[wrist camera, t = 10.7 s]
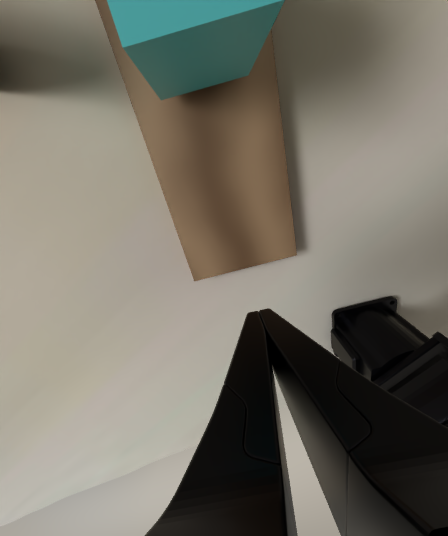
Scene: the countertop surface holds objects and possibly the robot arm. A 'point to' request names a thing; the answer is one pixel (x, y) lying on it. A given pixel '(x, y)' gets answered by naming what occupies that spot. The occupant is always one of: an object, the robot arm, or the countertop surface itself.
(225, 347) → the countertop surface
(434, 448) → the robot arm
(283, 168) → the walnut board
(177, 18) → the teal block
